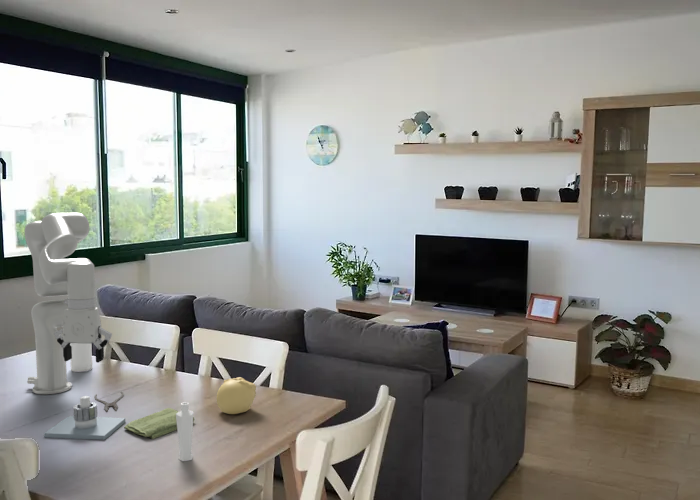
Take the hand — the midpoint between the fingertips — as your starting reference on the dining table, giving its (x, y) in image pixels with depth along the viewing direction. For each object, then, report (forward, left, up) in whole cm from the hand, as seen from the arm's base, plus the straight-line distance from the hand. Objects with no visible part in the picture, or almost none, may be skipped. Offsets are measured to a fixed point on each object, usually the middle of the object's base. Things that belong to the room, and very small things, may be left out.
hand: (83, 360), depth 194 cm
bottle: (-31, +58, -21) cm, 69 cm away
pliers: (-2, +24, -21) cm, 32 cm away
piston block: (+1, -2, -20) cm, 20 cm away
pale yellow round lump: (+41, +18, -21) cm, 49 cm away
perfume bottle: (+37, -19, -21) cm, 46 cm away
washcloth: (+22, +3, -21) cm, 30 cm away
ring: (+1, -1, -17) cm, 17 cm away
